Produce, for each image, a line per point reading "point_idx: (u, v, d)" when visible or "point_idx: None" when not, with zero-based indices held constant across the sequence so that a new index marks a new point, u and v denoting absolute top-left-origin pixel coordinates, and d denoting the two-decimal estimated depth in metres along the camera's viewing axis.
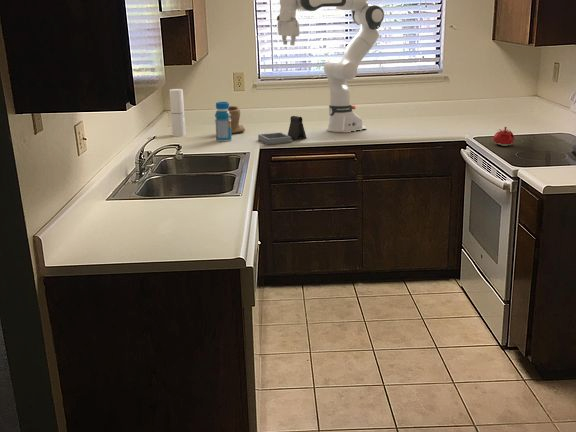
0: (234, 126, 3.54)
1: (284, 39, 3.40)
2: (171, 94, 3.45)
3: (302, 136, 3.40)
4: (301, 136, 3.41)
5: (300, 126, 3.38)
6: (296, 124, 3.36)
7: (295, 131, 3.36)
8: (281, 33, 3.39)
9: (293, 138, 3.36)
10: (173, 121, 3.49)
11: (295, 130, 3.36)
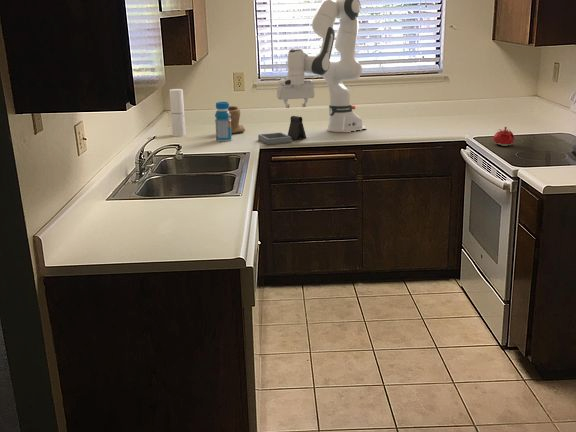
0: (234, 126, 3.54)
1: None
2: (171, 94, 3.45)
3: (302, 136, 3.40)
4: (301, 136, 3.41)
5: (300, 126, 3.38)
6: (296, 124, 3.36)
7: (295, 131, 3.36)
8: (287, 97, 3.30)
9: (293, 138, 3.36)
10: (173, 121, 3.49)
11: (295, 130, 3.36)
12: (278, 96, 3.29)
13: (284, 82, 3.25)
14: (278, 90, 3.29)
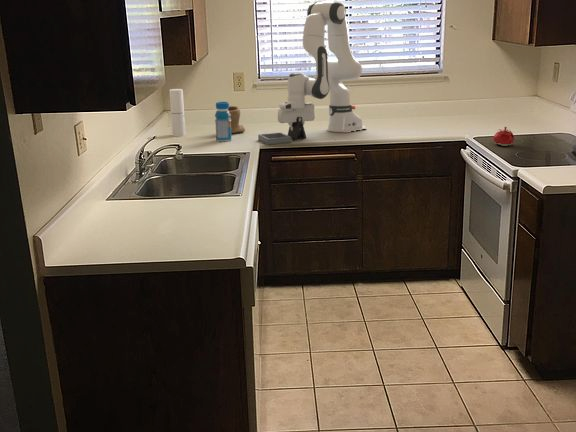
0: (234, 126, 3.54)
1: None
2: (171, 94, 3.45)
3: (302, 136, 3.40)
4: (301, 136, 3.41)
5: (300, 126, 3.38)
6: (296, 124, 3.36)
7: (295, 131, 3.36)
8: (288, 120, 3.34)
9: (293, 138, 3.36)
10: (173, 121, 3.49)
11: (295, 130, 3.36)
12: (279, 120, 3.33)
13: (285, 106, 3.29)
14: (279, 114, 3.33)
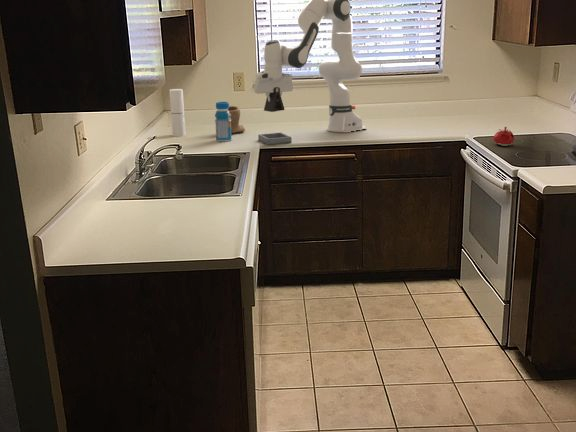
0: (234, 126, 3.54)
1: None
2: (171, 94, 3.45)
3: (280, 107, 3.29)
4: (279, 107, 3.30)
5: (278, 97, 3.27)
6: (273, 95, 3.25)
7: (272, 102, 3.25)
8: (265, 91, 3.23)
9: (270, 109, 3.25)
10: (173, 121, 3.49)
11: (272, 101, 3.25)
12: (255, 90, 3.22)
13: (261, 76, 3.18)
14: (255, 84, 3.22)
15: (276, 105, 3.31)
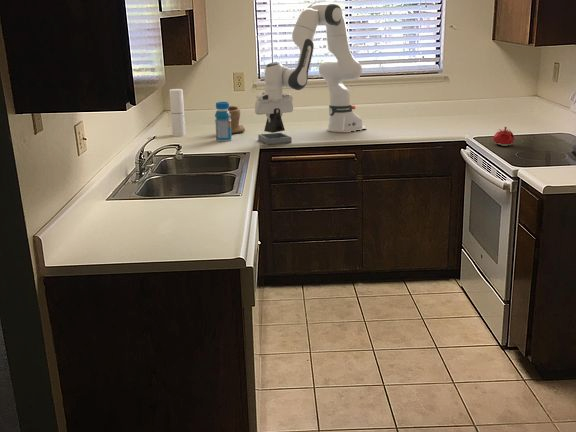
0: (234, 126, 3.54)
1: None
2: (171, 94, 3.45)
3: (280, 128, 3.33)
4: (279, 128, 3.33)
5: (278, 118, 3.30)
6: (273, 116, 3.28)
7: (272, 123, 3.28)
8: (265, 112, 3.26)
9: (270, 130, 3.28)
10: (173, 121, 3.49)
11: (272, 122, 3.28)
12: (256, 111, 3.25)
13: (261, 97, 3.22)
14: (256, 105, 3.25)
15: (276, 126, 3.34)
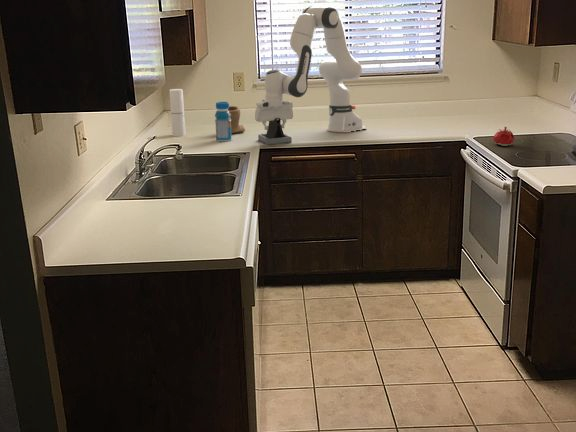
0: (234, 126, 3.54)
1: None
2: (171, 94, 3.45)
3: (281, 137, 3.34)
4: (280, 137, 3.35)
5: (278, 127, 3.32)
6: (274, 125, 3.30)
7: (273, 132, 3.30)
8: (265, 119, 3.27)
9: None
10: (173, 121, 3.49)
11: (273, 131, 3.30)
12: (256, 118, 3.27)
13: (262, 104, 3.23)
14: (256, 112, 3.26)
15: (277, 135, 3.36)
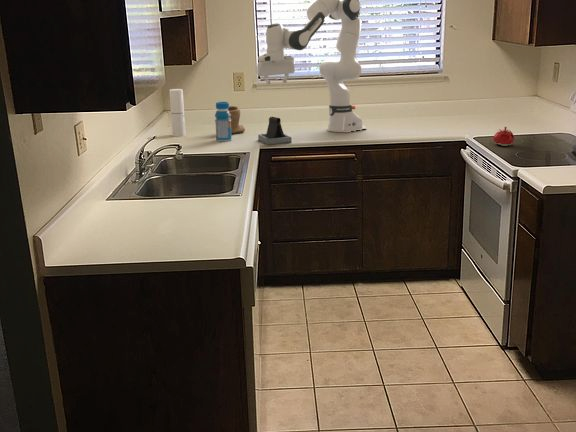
0: (234, 126, 3.54)
1: None
2: (171, 94, 3.45)
3: (281, 137, 3.34)
4: (280, 137, 3.35)
5: (278, 127, 3.32)
6: (274, 125, 3.30)
7: (273, 132, 3.30)
8: (268, 73, 3.30)
9: None
10: (173, 121, 3.49)
11: (273, 131, 3.30)
12: (258, 73, 3.29)
13: (263, 58, 3.25)
14: (258, 67, 3.28)
15: (277, 135, 3.36)
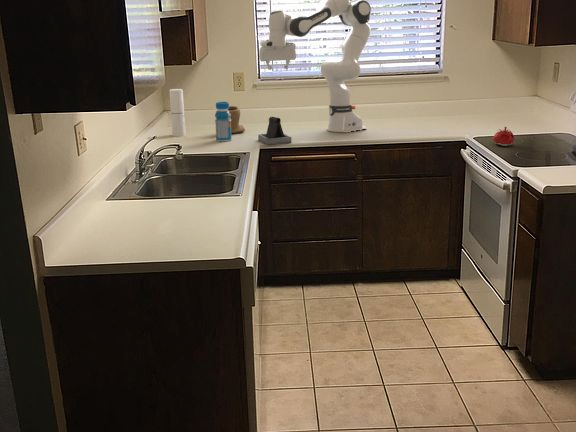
0: (234, 126, 3.54)
1: None
2: (171, 94, 3.45)
3: (281, 137, 3.34)
4: (280, 137, 3.35)
5: (278, 127, 3.32)
6: (274, 125, 3.30)
7: (273, 132, 3.30)
8: (269, 59, 3.38)
9: None
10: (173, 121, 3.49)
11: (273, 131, 3.30)
12: (260, 58, 3.37)
13: (266, 44, 3.33)
14: (260, 52, 3.37)
15: (277, 135, 3.36)
